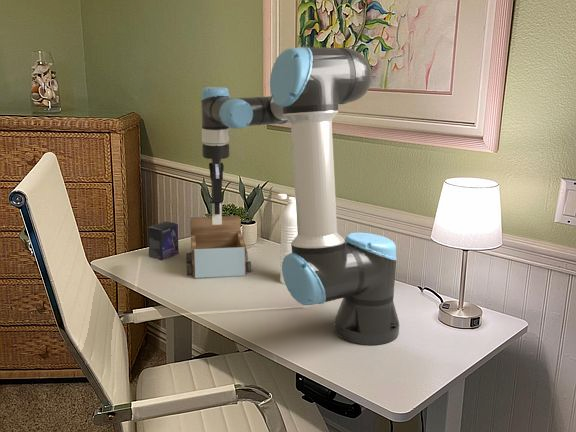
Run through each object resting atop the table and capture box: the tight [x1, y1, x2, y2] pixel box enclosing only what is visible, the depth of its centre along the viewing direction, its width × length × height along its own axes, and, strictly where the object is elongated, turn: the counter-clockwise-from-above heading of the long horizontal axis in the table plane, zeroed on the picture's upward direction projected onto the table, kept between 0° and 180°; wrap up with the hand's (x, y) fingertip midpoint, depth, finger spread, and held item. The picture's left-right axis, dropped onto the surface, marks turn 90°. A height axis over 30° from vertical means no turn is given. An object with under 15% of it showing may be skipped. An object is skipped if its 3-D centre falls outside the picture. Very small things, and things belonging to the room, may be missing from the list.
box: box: [147, 221, 180, 261], centre depth 192 cm, size 8×6×11 cm
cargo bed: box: [185, 215, 252, 278], centre depth 184 cm, size 19×18×13 cm
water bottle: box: [277, 193, 298, 285], centre depth 171 cm, size 9×6×25 cm
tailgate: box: [193, 247, 247, 280], centre depth 175 cm, size 1×14×9 cm, turn 100°
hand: (217, 223), depth 180 cm, fingers closed
